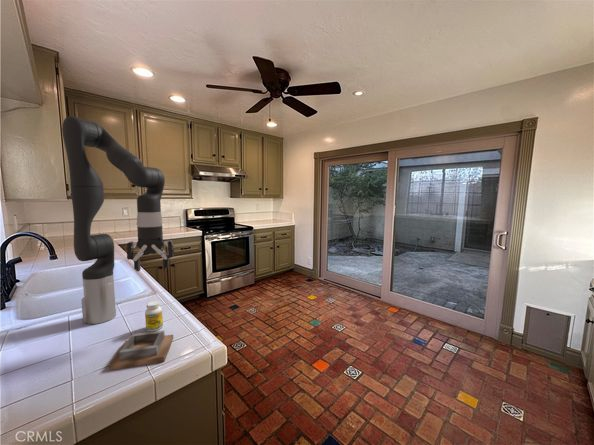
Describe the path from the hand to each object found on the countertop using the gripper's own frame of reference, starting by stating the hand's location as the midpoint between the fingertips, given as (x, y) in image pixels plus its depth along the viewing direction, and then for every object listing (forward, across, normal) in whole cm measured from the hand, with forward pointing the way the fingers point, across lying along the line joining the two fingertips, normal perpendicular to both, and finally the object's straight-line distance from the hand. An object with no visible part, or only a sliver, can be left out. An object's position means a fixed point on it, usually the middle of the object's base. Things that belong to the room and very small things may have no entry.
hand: (152, 269), depth 87 cm
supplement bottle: (+22, 0, 0) cm, 22 cm away
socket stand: (+22, -1, +15) cm, 27 cm away
